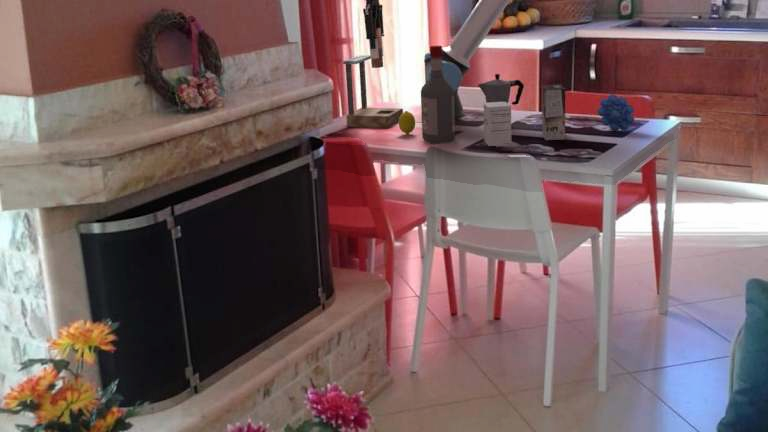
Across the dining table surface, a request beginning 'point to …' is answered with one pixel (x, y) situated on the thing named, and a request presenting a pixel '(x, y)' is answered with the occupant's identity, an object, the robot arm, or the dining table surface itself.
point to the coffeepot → (500, 90)
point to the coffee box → (553, 112)
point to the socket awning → (364, 114)
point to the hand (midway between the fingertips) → (377, 57)
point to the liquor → (437, 103)
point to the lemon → (406, 122)
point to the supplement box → (497, 123)
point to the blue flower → (616, 112)
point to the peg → (378, 61)
